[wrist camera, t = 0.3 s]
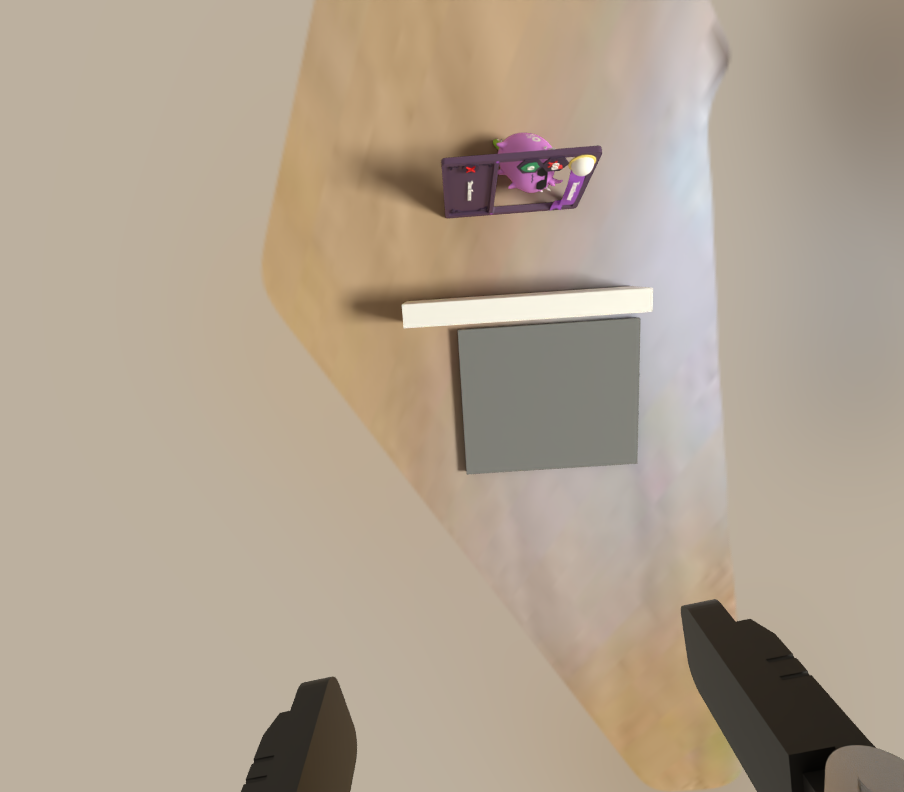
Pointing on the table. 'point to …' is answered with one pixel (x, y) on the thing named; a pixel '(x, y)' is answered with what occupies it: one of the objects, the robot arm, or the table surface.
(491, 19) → the table surface
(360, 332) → the table surface
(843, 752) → the robot arm
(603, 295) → the low wall
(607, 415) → the rubber mat
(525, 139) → the purple framed toy figure
